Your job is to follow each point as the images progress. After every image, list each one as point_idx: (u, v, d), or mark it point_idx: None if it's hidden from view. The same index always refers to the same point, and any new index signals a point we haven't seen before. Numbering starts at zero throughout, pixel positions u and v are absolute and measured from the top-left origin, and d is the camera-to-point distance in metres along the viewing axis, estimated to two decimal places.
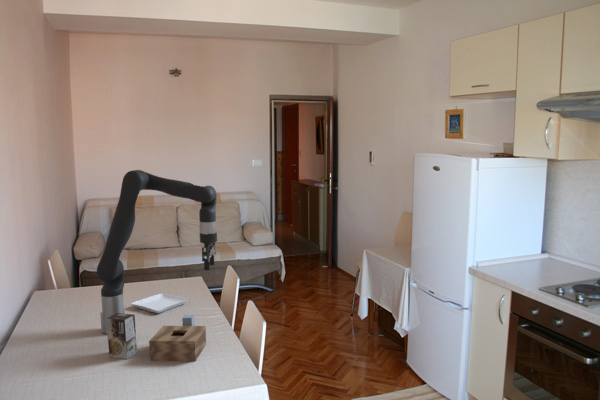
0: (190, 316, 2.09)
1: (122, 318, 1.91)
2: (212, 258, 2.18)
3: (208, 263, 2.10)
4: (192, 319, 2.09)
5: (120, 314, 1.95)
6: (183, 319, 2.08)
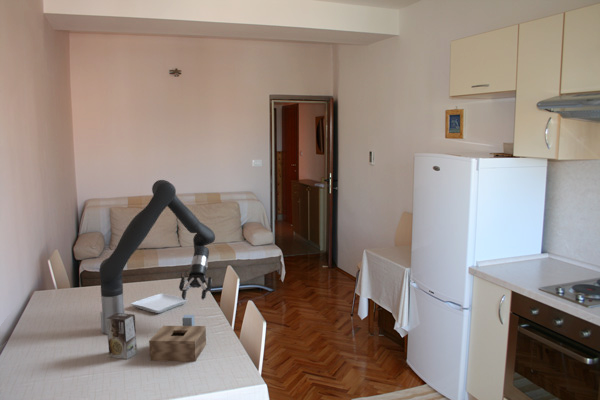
0: (190, 316, 2.09)
1: (122, 318, 1.91)
2: (186, 292, 2.20)
3: None
4: (192, 319, 2.09)
5: (120, 314, 1.95)
6: (183, 319, 2.08)
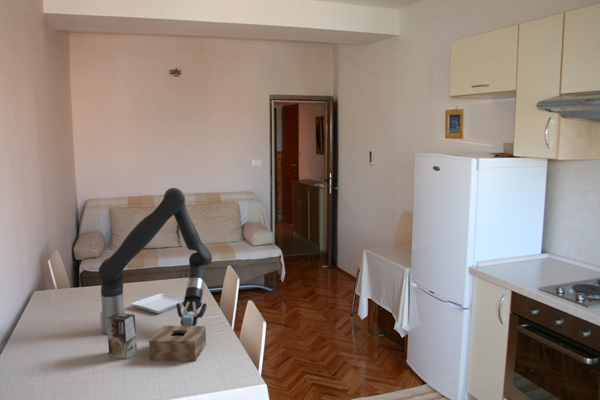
0: (190, 316, 2.09)
1: (122, 318, 1.91)
2: None
3: None
4: (192, 319, 2.09)
5: (120, 314, 1.95)
6: (183, 319, 2.08)
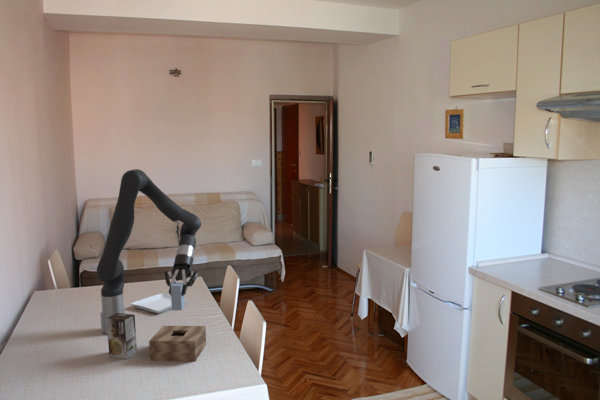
0: (179, 284, 1.94)
1: (122, 318, 1.91)
2: None
3: None
4: (181, 287, 1.94)
5: (120, 314, 1.95)
6: (171, 287, 1.93)
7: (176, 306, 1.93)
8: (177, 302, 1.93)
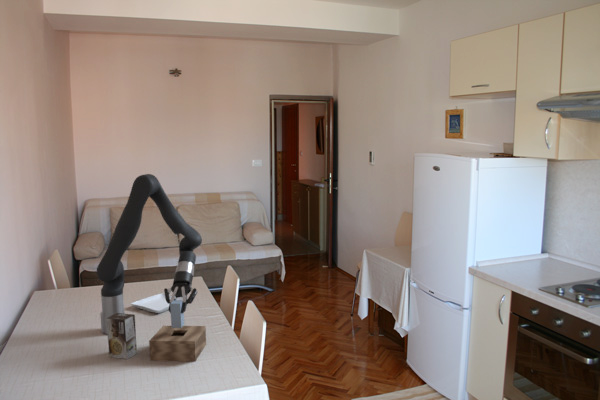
0: (179, 302, 1.94)
1: (122, 318, 1.91)
2: None
3: None
4: (181, 305, 1.94)
5: (120, 314, 1.95)
6: (171, 305, 1.92)
7: (175, 324, 1.93)
8: (177, 319, 1.93)
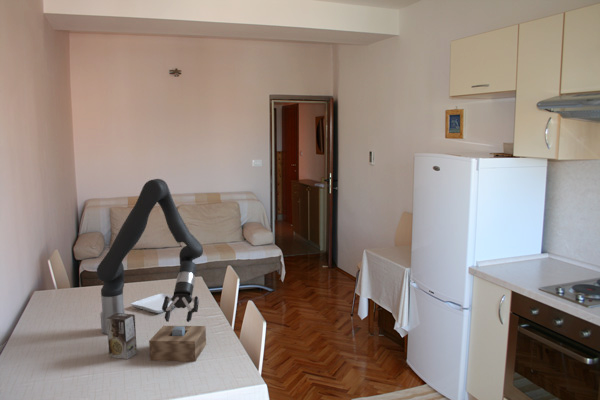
0: (180, 328, 1.96)
1: (122, 318, 1.91)
2: (169, 314, 1.98)
3: None
4: (183, 331, 1.95)
5: (120, 314, 1.95)
6: (173, 331, 1.94)
7: None
8: None
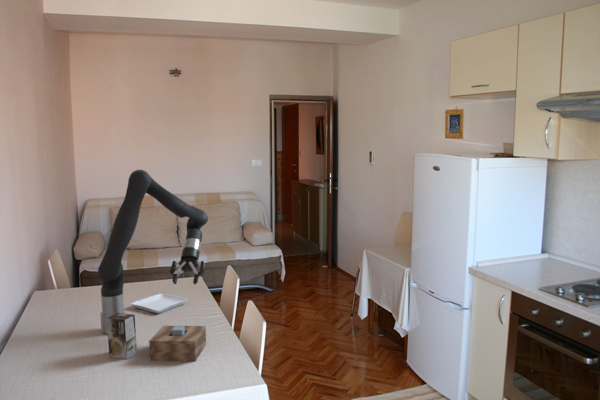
0: (180, 328, 1.96)
1: (122, 318, 1.91)
2: (177, 277, 2.08)
3: None
4: (182, 331, 1.95)
5: (120, 314, 1.95)
6: (173, 331, 1.94)
7: None
8: None
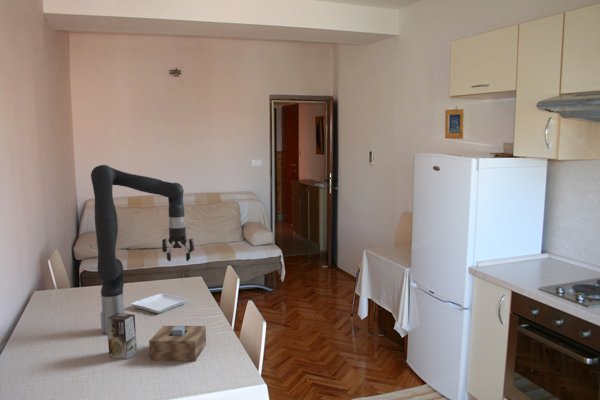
0: (180, 328, 1.96)
1: (122, 318, 1.91)
2: (170, 253, 2.26)
3: None
4: (182, 331, 1.95)
5: (120, 314, 1.95)
6: (173, 331, 1.94)
7: None
8: None
